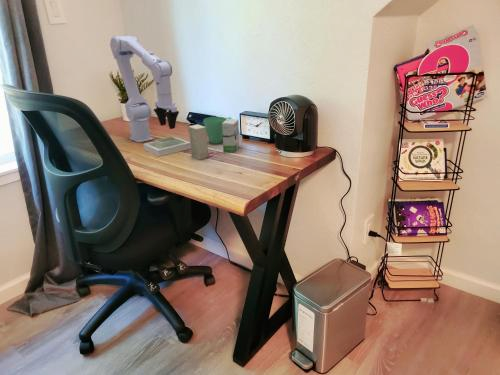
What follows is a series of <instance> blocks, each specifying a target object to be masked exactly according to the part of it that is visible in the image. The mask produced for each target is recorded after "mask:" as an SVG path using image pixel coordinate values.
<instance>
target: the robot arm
mask: <svg viewBox="0 0 500 375" xmlns="http://www.w3.org/2000/svg"><path fill="white" fill-rule="evenodd" d="M109 47H110V49H111V52H112V56H113V59H115V61H116V64H117V67H118V69H119V70H118V71H119V73H120V76H121V78H122V83H123V85H124V89H125V90H126V91H125V93H126V94H127V97H128V100H127V101H126V103H125V104H124V107H125V108H124V109H125V116H126V117H127V119H128V120H129V121H130V122H129V124H128V125H129V134H130V137H128V139H130V140H132V141H134V142H136V143H142V142H143V143H144V142H148V141H151V140H154V139H155V137H152V136H151V131H150V123H149V120H151V119H150V118H151V116H152V109H151V105H149V103H148V100H147V99H146V98H144V97H142V96H141V94H140V90H139V86H138V84H137V80H136V78H135V77H136V76H135V74H134V71H133V68H132V65H131V59H132V58H133V57H134V55H136V56H137V57H139V58H140V59H141V63H142V64H143V65H144V66H145V67H147V68H148V69H149V70H150V73H151V76H152V77H153V81H154V83H155V88H156V97H157V101H155V102H154V106H155V108H154V109H153V112H154V113H155V114H156V116H157V119H158V121H159V124H160V126H166V125H167V123H168V127H169V129H170V130H172V129H175V128H176V124H177V118H178V115H179V113H180V111H179V110H178V108H177V106H176V102H175V103H174V102H173V96H172V94H173V93H172V86H171V76H172V74H173V66H172V65H171V63H170V62H169V60H166V61H165V60H162V58H160V57H158V56H157V55H156V54H155V53H154V51H147V50H146V49H145V48H144V47H143V46H142V45H141V44H140V43H139V40H138V38H137V37H136V36H135V35H133V34H131V35H120V36H119V35H118V36H115V35H114V36H112V37H111V39H110V42H109Z"/></svg>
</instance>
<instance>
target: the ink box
mask: <svg viewBox="0 0 500 375" xmlns="http://www.w3.org/2000/svg"><path fill="white" fill-rule="evenodd" d="M239 128H240V127H239V119H237V118H232V119H226V120H225V121H224V122H223V123H222V129H223V140H222V145H223V152H224V153H236V151H237V150H238V148H239V147H240V130H239Z"/></svg>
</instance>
